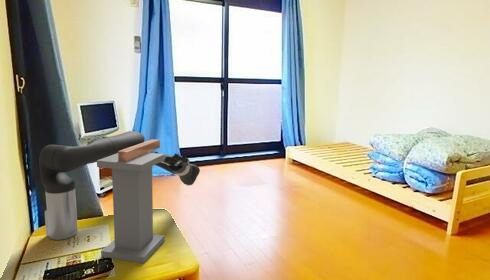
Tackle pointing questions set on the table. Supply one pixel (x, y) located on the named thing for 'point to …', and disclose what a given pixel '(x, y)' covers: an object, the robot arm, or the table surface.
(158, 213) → the table surface
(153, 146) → the bar
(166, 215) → the table surface
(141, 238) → the stand
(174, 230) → the table surface
